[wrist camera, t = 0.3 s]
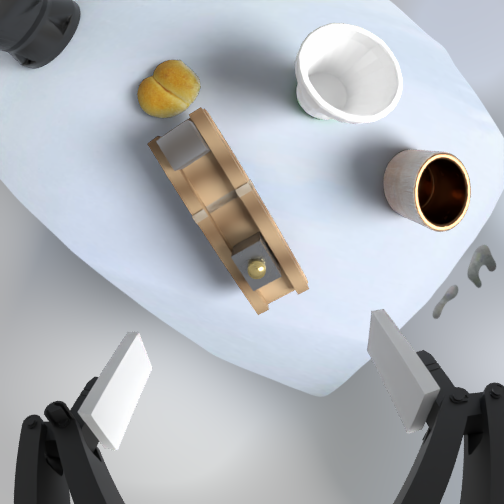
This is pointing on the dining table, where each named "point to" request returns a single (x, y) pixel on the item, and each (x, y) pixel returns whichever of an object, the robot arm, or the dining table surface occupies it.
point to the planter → (428, 188)
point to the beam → (224, 202)
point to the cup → (346, 75)
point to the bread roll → (168, 89)
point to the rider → (256, 261)
